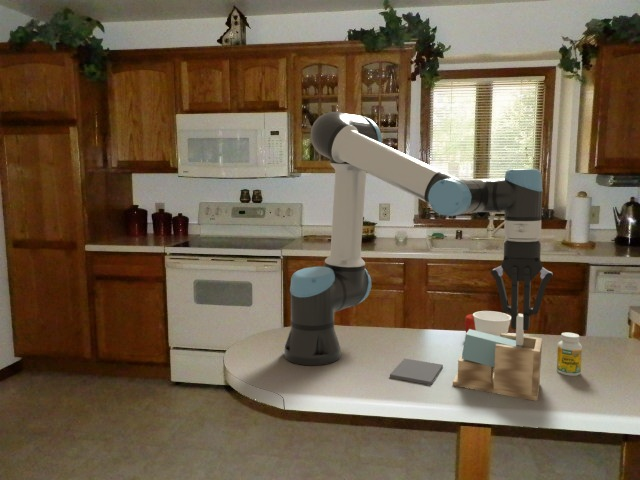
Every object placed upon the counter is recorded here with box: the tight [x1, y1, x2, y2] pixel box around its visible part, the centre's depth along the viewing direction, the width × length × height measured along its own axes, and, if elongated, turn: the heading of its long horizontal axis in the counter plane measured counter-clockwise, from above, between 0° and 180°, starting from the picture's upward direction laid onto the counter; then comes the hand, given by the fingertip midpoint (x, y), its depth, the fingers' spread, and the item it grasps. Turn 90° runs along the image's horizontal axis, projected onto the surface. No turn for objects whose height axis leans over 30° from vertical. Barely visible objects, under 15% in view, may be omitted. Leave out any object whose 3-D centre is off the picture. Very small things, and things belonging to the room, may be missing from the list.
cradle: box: [452, 333, 543, 402], centre depth 115 cm, size 18×10×11 cm, turn 64°
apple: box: [464, 313, 476, 334], centre depth 148 cm, size 6×6×8 cm
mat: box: [389, 357, 444, 386], centre depth 123 cm, size 10×12×1 cm
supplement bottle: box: [556, 332, 583, 377], centre depth 123 cm, size 5×5×10 cm
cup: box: [472, 310, 511, 337], centre depth 135 cm, size 10×10×11 cm
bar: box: [461, 329, 522, 368], centre depth 115 cm, size 12×4×6 cm, turn 64°
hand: (519, 343), depth 113 cm, fingers closed
